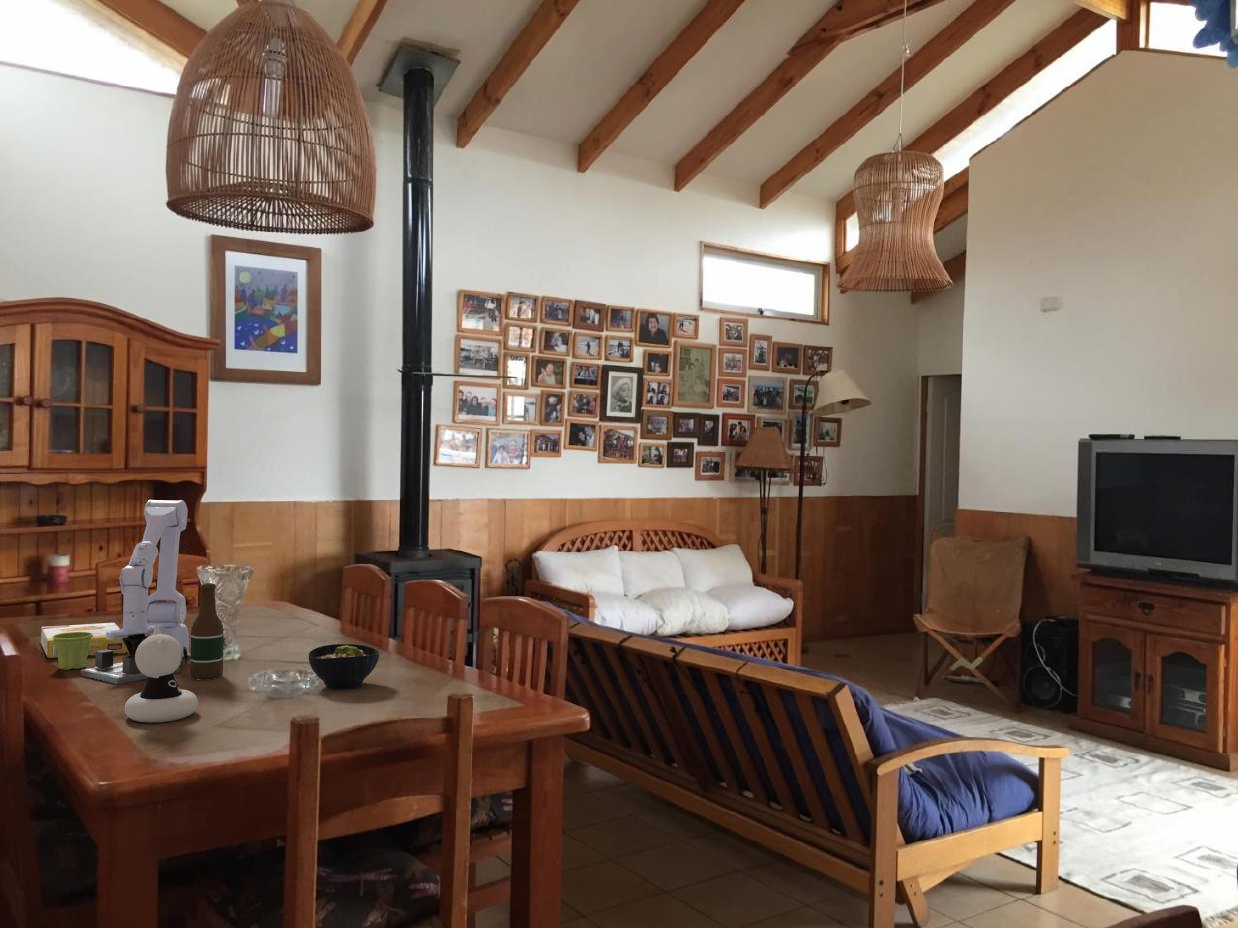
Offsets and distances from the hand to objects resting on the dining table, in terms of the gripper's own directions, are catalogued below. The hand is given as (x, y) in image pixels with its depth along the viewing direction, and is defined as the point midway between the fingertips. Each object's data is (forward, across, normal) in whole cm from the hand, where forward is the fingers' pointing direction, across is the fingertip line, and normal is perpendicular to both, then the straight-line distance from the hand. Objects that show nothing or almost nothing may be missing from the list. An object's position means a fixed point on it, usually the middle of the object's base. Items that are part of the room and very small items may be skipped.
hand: (134, 663), depth 257 cm
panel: (+2, -1, 0) cm, 3 cm away
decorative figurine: (+3, -20, -43) cm, 48 cm away
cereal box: (+3, +11, +43) cm, 44 cm away
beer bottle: (+3, +8, -18) cm, 20 cm away
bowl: (+3, +22, -53) cm, 58 cm away
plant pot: (+3, -6, +19) cm, 20 cm away
